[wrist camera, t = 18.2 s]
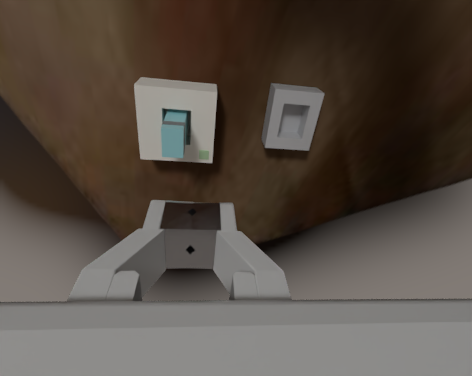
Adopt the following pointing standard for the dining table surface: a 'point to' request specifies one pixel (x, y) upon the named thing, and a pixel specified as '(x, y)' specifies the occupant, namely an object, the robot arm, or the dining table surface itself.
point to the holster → (291, 116)
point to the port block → (181, 98)
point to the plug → (174, 133)
